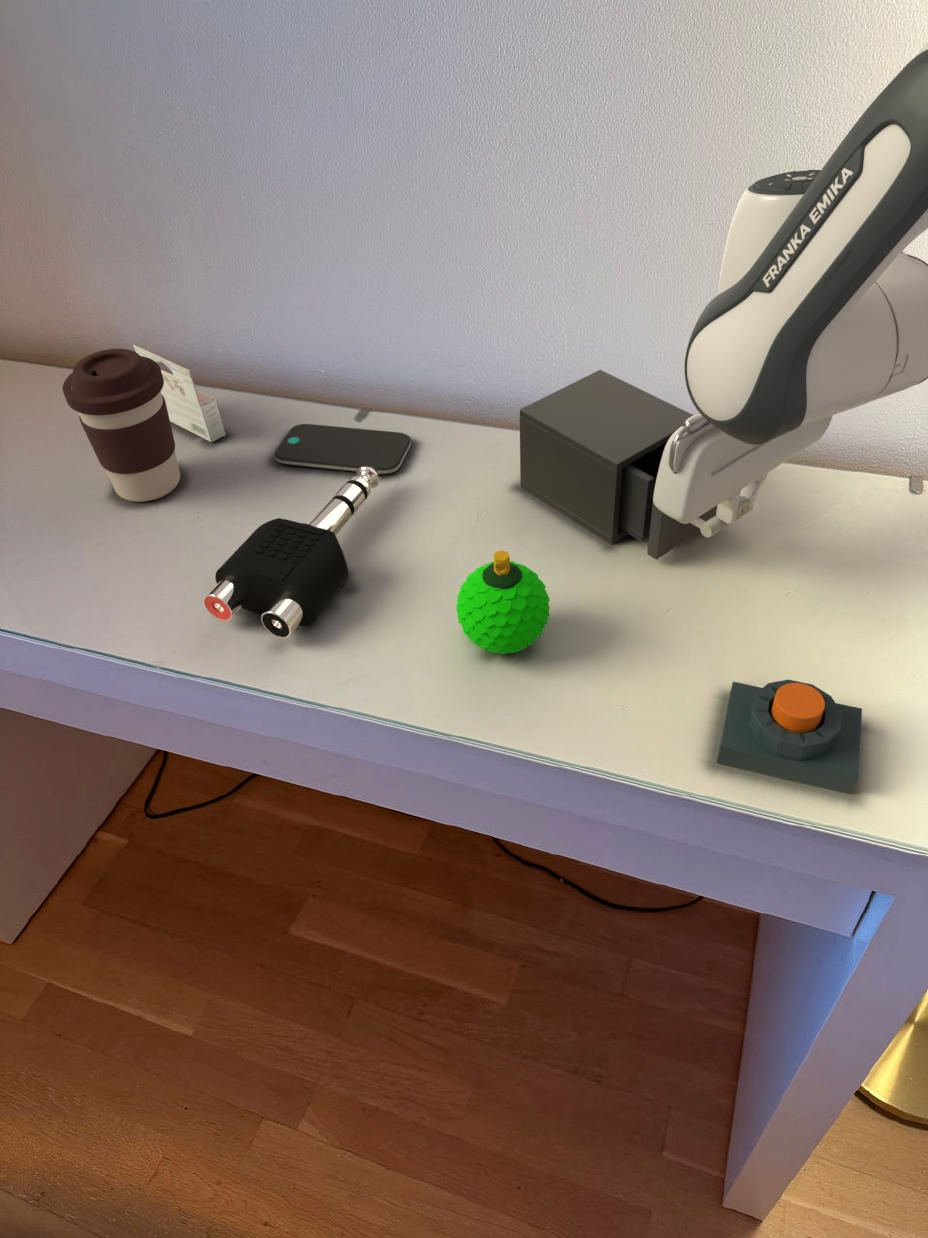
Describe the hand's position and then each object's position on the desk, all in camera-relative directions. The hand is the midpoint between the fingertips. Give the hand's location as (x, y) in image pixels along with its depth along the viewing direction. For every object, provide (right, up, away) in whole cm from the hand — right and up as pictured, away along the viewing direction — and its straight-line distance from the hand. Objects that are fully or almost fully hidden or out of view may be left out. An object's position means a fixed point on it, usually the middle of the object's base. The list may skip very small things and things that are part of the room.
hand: (733, 514), depth 86 cm
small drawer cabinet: (-10, +4, +14) cm, 17 cm away
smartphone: (-39, +10, +22) cm, 45 cm away
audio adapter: (-39, -3, +8) cm, 40 cm away
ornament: (-21, -12, -2) cm, 24 cm away
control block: (+1, -20, -12) cm, 23 cm away
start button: (+1, -17, -14) cm, 22 cm away
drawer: (-5, +1, +8) cm, 10 cm away
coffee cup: (-60, +5, +19) cm, 64 cm away
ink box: (-58, +14, +28) cm, 66 cm away
